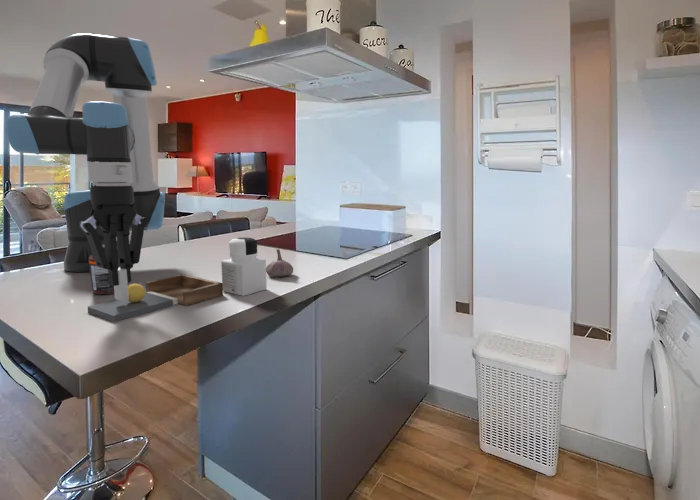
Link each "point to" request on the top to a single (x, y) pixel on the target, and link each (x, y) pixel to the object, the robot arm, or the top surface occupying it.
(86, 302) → the top surface
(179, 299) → the tray
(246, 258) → the container
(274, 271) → the garlic bulb
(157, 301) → the grey flat slab
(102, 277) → the supplement bottle
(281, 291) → the top surface
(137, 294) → the ball
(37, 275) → the top surface
